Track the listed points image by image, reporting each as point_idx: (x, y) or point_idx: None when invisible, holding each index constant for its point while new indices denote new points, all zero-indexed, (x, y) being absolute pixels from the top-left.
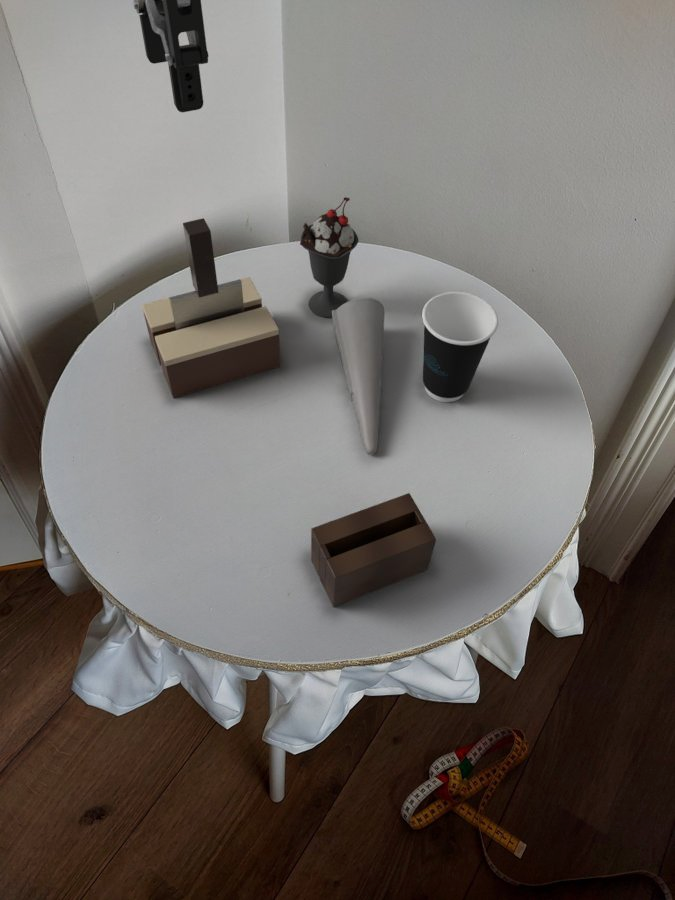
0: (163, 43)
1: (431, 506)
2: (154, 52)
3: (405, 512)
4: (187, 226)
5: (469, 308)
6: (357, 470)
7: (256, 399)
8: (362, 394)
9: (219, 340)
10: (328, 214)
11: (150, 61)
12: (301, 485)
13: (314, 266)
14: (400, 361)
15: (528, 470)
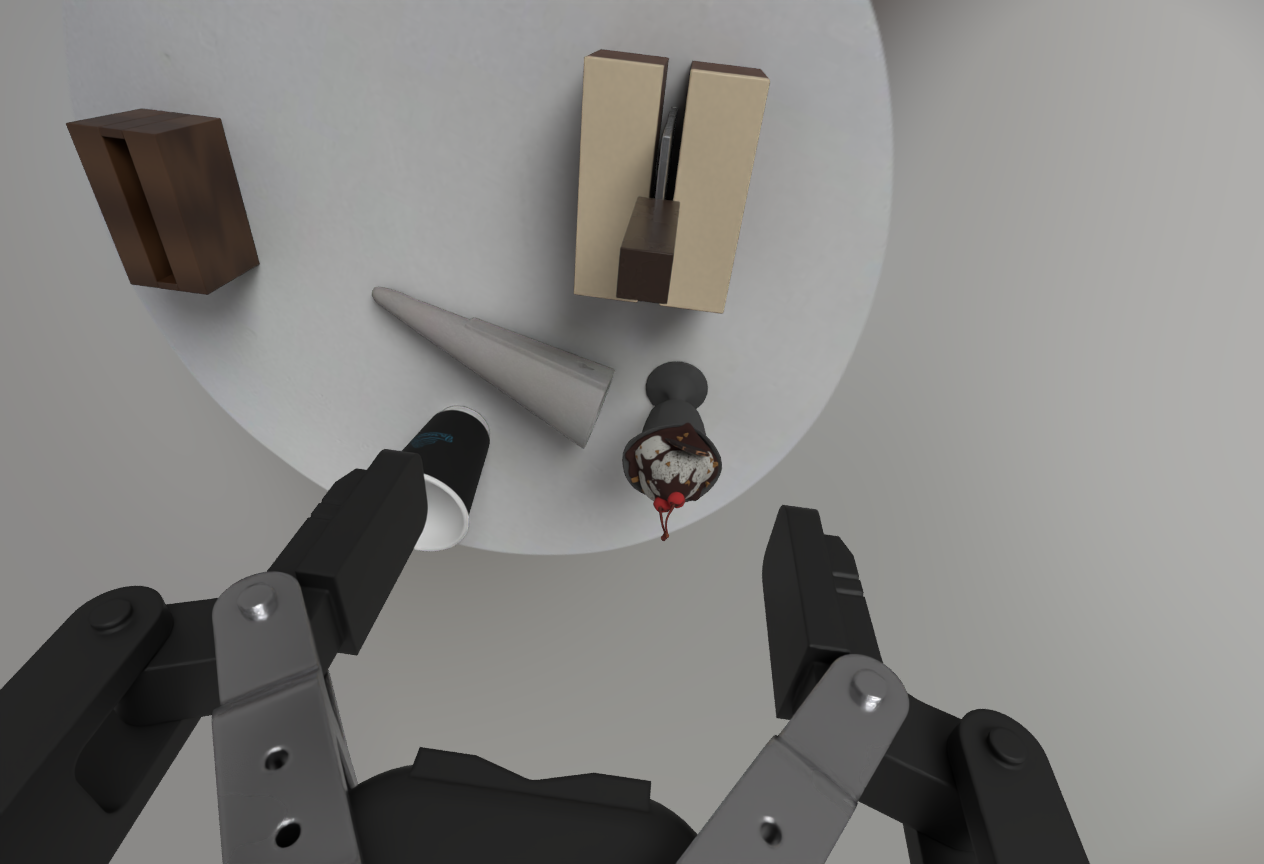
0: (300, 641)
1: (283, 311)
2: (782, 546)
3: (175, 272)
4: (655, 258)
5: (453, 528)
6: (359, 259)
7: (537, 192)
8: (449, 335)
9: (591, 187)
10: (674, 495)
11: (783, 507)
12: (352, 172)
13: (666, 413)
14: (526, 409)
15: (314, 430)
